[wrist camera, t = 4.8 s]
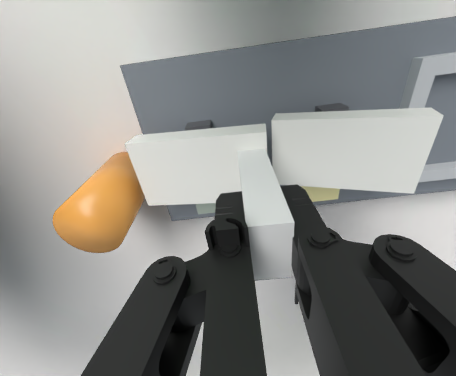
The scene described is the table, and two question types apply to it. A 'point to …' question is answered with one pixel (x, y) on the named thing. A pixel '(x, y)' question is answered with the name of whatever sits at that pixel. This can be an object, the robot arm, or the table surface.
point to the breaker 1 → (192, 162)
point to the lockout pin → (101, 207)
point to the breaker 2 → (354, 148)
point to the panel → (308, 91)
